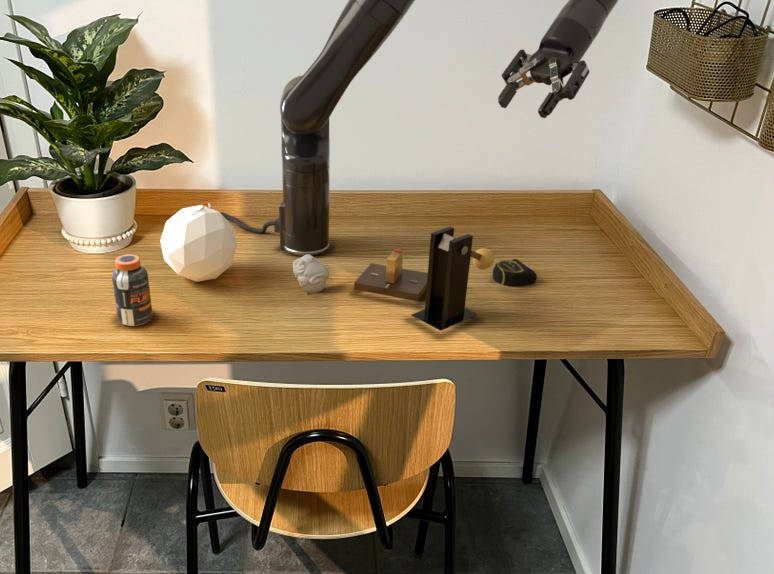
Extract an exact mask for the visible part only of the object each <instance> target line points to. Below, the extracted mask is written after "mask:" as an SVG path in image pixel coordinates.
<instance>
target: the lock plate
mask: <svg viewBox="0 0 774 574" xmlns="http://www.w3.org/2000/svg"><path fill="white" fill-rule="evenodd" d="M427 276H428V272H424V271H419V270H413V269H407V268H402V274H401V275H400V277H399V278H398V279H397V280H396V282H395V283H394V284H393V283H388V282H386V265H385V264H378V263H372V262H371V263H370V264H369V265H368V266H367V267H366V268H365V270H364V271H363V272H362V273H361V274H360V276H358V277H357V279H356V280H355V281H354V283H353V290H355V291H360V292H361V291H362V292H367V293H372V294H377V295H382V296H386V297H387V296H389V297H393V298H399V299H404V300H409V301H415V302H419V301H420V300H421V298H422V296H423V295H424V294H425V293H426V288H427Z"/></svg>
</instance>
